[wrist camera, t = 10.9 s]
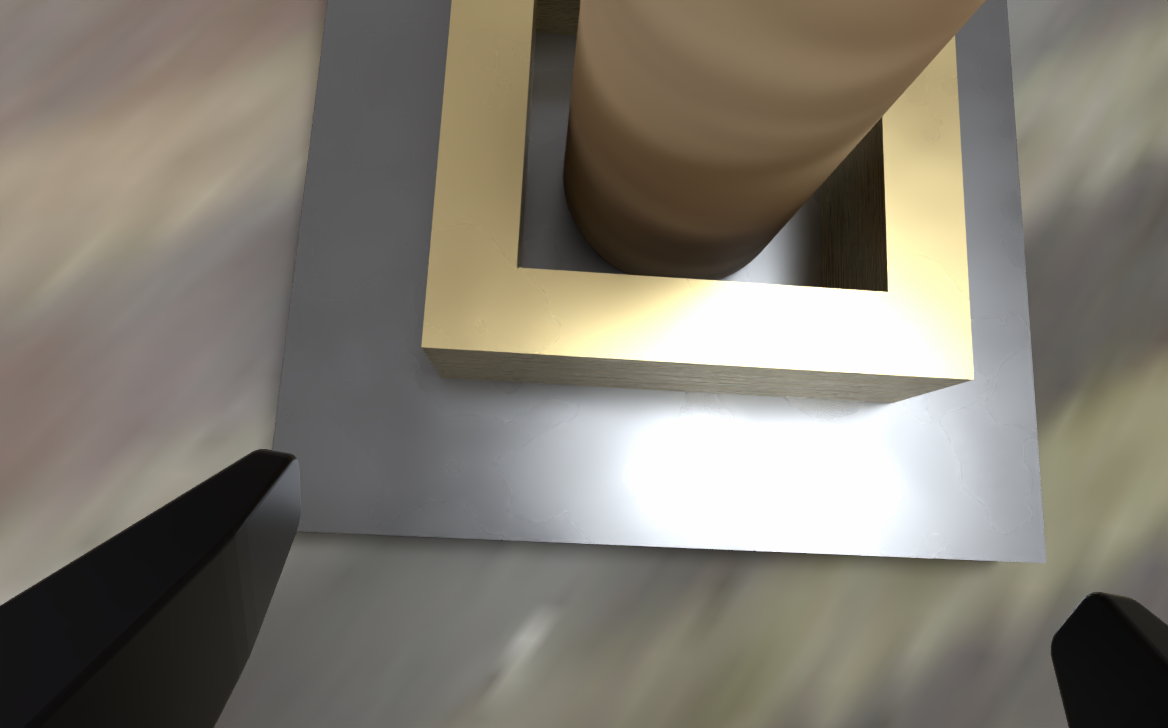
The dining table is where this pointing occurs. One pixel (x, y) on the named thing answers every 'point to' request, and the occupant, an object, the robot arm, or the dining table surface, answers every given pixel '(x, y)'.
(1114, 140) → the dining table surface
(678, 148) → the tan cylinder
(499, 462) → the socket
